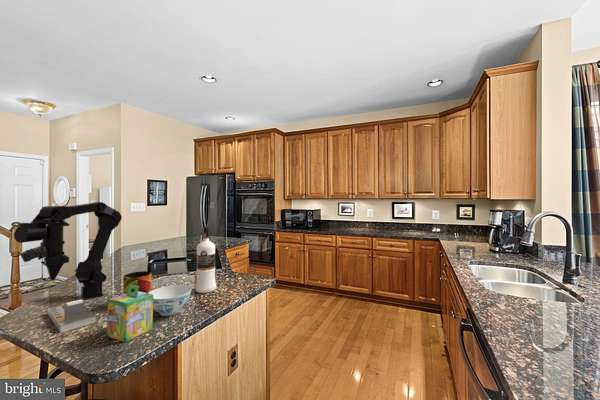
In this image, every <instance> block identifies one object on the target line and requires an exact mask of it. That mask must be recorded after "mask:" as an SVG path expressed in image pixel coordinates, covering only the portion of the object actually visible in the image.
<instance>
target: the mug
mask: <svg viewBox="0 0 600 400" xmlns="http://www.w3.org/2000/svg"><path fill="white" fill-rule="evenodd" d="M122 279H123V280H122V281H123V283H122V284H123V287H122V288H123V294H122V295H124V294H127V291H128V287H129V285H136V286H139V290H138V291H141V292H145V293H149V292H150V291H152V272H151V271H147V270H146V271H145V270H144V271H143V270H142V271H135V272H130V273H127V274H124V275H123V278H122ZM134 291H135V289H131V292H134Z"/></svg>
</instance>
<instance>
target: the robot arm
mask: <svg viewBox="0 0 600 400" xmlns="http://www.w3.org/2000/svg"><path fill="white" fill-rule="evenodd" d="M89 213H93V214H94V215H95V217H96V218H98V219H97V224H98V230H97V233H96V235H95V239H94V240H93V243H92V245H91V248H90V250H89V252H88V256H87V258H86V259H85V260H84V261H79V262H78V264H77V267H76V269H75V270H74V272H75V277H76V279H77V280H78V283H79V284H82V286H81V287H80V297H81V298H82V299H84V300H90V299H94V298H98V297H102V296H104V293H103V283H104V282H105V281H107V275H106V274H104V273H103V271H102V269H103V265H102V258H103V255H104V253H105V250H106V247H107V244H108V243H109V239H110V237H111V234H112V231H113V230H114V229H115V228H117V227H118V226H119V224H120V222H121V221H122V218H123V217H122V214H121V213H120V211H119V210H116V209H115V208H113V207H111V206H109V205H107V204H106V203H105V202H101V201H93V202H89V203H81V204H74V205H68V206H67V205H65V206H64V205H46V206H42V207H41V208H40V210H39V212H38V214H37V215H36V216H35V217H34V218H33V219H32V221H31V222H19V224H18V225H19V226H18V227H16V228H15V230H14V232H13V238H14V240H15V242H17V243H20V244H23V243H28V242H31V243H32V242H39V241H41V242H40V244H39V245H40V246H36V247H34V248H30V249H27V250H25V251H21V252H20V253H19V256H20V257H21V259H22V261H23V262H24V263H28V262H31V260H34V259H37V260H42V259H43V261H40V263H41V264H42V265H43V266H45V267H46V269H47V273H48V276H49V279H50V281H55V280H56V278H57V277H58V274H59V273H60V270H61V269H62V268H63V266H64V264H68V263H70V256H68V255H66V254H65V251H64V244H65V243H66V242H65V240H64V227H69V226H70V223H68V222H66V220H68V219H70V218H71V217H73V216H77V215H83V214H89Z"/></svg>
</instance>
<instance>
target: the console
mask: <svg viewBox="0 0 600 400" xmlns="http://www.w3.org/2000/svg"><path fill="white" fill-rule="evenodd" d="M65 305H66V304H63V305H59V306H54V307H50V308H47V315H48V316H49V318H50V319H51V321H52V323H53V324H54V326H55V327H56V329H58V331H59V333H64V332H67V331H70V330H74V329H77V328H81V327H84V326H87V325H91V324H94V323H96V322H97V316H96V315H95V314H94V313H93V312H92V311H90V309H88V308H87V307H86V306H85V311H81V312H78V313H74V314H70V315H68V319H66V318H65V317H64V307H65Z"/></svg>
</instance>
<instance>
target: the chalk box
mask: <svg viewBox="0 0 600 400" xmlns="http://www.w3.org/2000/svg"><path fill="white" fill-rule="evenodd" d="M131 289H135V291H134V292H131ZM138 290H139V286H136V285H129V287H128V291H127V294H124V295H123V294H121V295H118V296H114V297H111V298H107V310H106V311H107V316H106V337H109V338H111V339H114V340H117V341H120V342H123V343H127V342H129V341H131V340H133V339H135V338H137V337H139V336H141V335H143V334H146V333H147V332H149V331H151V330H153V324H154V323H153V322H154V321H153V319H154V309H153V294H149V293H145V292H141V291H138Z"/></svg>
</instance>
